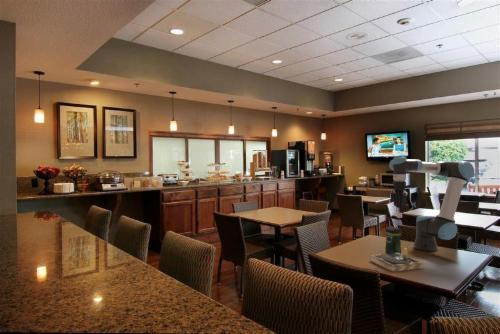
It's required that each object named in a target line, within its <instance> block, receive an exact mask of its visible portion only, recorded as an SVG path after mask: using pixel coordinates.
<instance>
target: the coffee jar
mask: <svg viewBox="0 0 500 334" xmlns="http://www.w3.org/2000/svg"><path fill="white" fill-rule="evenodd" d="M385 236H386V237H385V251H384V252H385V253H384V254H386V253H400V254H402V245H401V237H402V229H401V228H399V227H396V226H386V227H385Z"/></svg>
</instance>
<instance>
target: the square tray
mask: <svg viewBox="0 0 500 334" xmlns="http://www.w3.org/2000/svg"><path fill="white" fill-rule="evenodd" d="M382 254H383V253H382ZM382 254H381V253H379V254H371V256H370V258H371V259H370V261H371V262H373V263H375V264H377V265H379V266H381V267H383V268H385V269H387V270H389V271H391V272H401V271H402V270H403V271H410V269H411V270H420V269H423V261H420V260H418V259H415V258H413V257H410V258H411V263H405V264H391V263H389V262H386V261H384V260H383V259H382ZM396 254H400V253H396ZM401 254H402V255H403V253H401Z"/></svg>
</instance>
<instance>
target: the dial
mask: <svg viewBox="0 0 500 334" xmlns="http://www.w3.org/2000/svg"><path fill="white" fill-rule="evenodd" d="M402 254H403V255H402ZM411 258H412V257H410V256H409V255H408V247H402V253H401V254H396V253H382V259H383V260H384V261H386V262H389V263H391V264H405V263H411Z"/></svg>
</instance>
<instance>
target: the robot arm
mask: <svg viewBox="0 0 500 334" xmlns="http://www.w3.org/2000/svg"><path fill="white" fill-rule="evenodd" d="M388 166H389V169H390V170H391V171H393V172H392V174H393V177H392V179H393V182H392V186H393V190H391V195H392V202H393V206H394V207H395V208H396V218H397V219H400V218H401V219H402V218H403V208H405V207H406V204H407V199H408V196H409V192H407V191H406V187H407V172H410V173H411V172H413V173H423V174H431V175H432V176H439V177H444V178H446V179H447V180H448V183H447V187H446V190H445V194H444V196H443V199H442V204H441V207H440V210H439V214H437V215H435V216H434V215H422V216H421V215H420V216H417V217H416V221H415V224H416V227H415V230H416V231H415V232H416V234H415V236H416V237H415V240H414V243H413V248H414V249H416V250H419V251H423V252H437V251H438V250H439V249H438V248H439V246H438V244H437V239H436V238H438V239H441V240H447V241H449V240H451V239H453V238H455V236H456V235H457V234H458V226H457V224H456V220H455V219H454V218H455V215H456V212H457V207H458V205H459V201H460V198H461V194H462V190H463V187H464V186H465V184H467V183H468V181H469V180H470V179H472V178H473V177H474V175H475V168H474V166H473V164H472V163H471V162H470V161H467V160H466V161H465V160H447V161H446V160H445V161H432V162H428V161H422V160H420V159H408V158H407V157H406V156H394V157H393V159H391V160H390V162H389V164H388Z"/></svg>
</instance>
